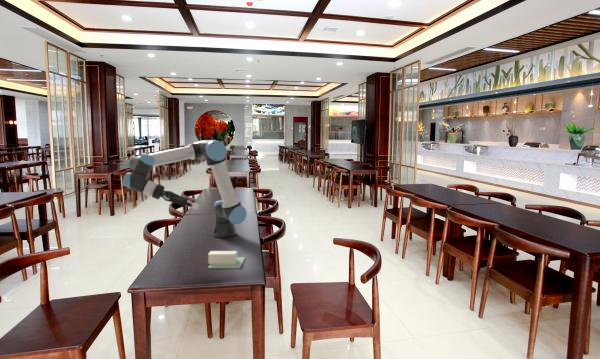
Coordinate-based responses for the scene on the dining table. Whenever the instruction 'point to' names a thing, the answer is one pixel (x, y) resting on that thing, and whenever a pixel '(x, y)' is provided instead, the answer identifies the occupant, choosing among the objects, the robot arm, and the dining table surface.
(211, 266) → the sage mat
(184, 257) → the dining table surface
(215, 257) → the cream block
